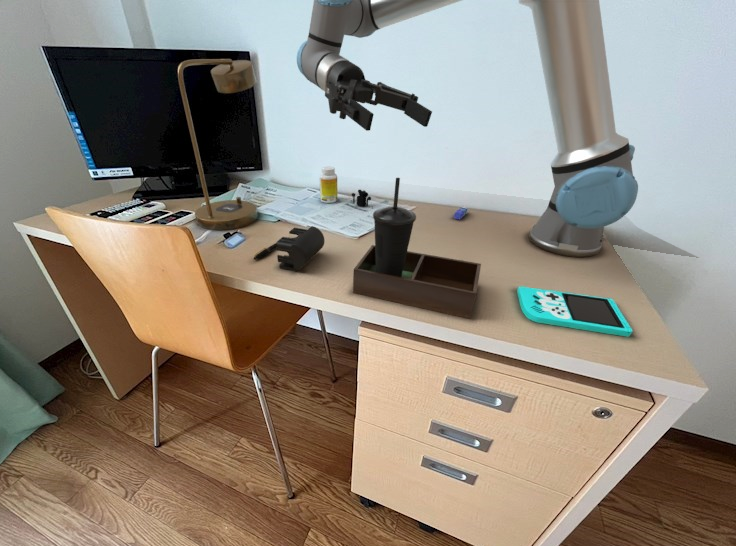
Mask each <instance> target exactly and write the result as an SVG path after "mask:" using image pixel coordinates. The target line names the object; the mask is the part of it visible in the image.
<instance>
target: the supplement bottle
mask: <svg viewBox="0 0 736 546" xmlns="http://www.w3.org/2000/svg"><path fill="white" fill-rule="evenodd" d="M335 169H336V168H335V167H334V166H323V167H322V168H321V174H319V198H320V199H319V200H320V201H321V202H322V203H325V204H326V203H327V204H332V203H335V202H337V201H338V175H337V174H336V170H335Z"/></svg>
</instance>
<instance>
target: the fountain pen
mask: <svg viewBox="0 0 736 546" xmlns="http://www.w3.org/2000/svg"><path fill="white" fill-rule="evenodd" d="M286 237H287V238H291V236H286ZM275 249H276V242H274V243H273V244H272V245H269V247H268V246H267V247H263V248H261V250H259V251H258V252H256V253H255V254H254V255H253V260H254V261H255V260H259V259H262V258H263V257H265V256H267V255H268V254H270V253H271V252H272V251H274V250H275Z"/></svg>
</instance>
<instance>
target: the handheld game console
mask: <svg viewBox="0 0 736 546" xmlns="http://www.w3.org/2000/svg"><path fill="white" fill-rule="evenodd" d="M516 293H517V297H518V301H519V306H520V310H521V312H522V313H523V315H524V316H525V317H526V318H527V319H528V320H530V321H532V322H534V323H538V324H545V325H551V326H557V327H565V328H570V329H577V330H582V331H587V332H595V333H600V334H601V333H602V334H608V335H613V336H614V335H615V336H619V337H620V336H621V337H627V338H629V337H630V336H631V335H632V334H633V329H632V327H631V325H630V324H629V322H628V320H627V319H626V318H625V316H624V314H623V313H622V311H621V309H620V308H619V306H618V305H617V303H616V301H615V300H614V299H612V298H608V297H601V296H594V295H586V294H579V293H571V292H566V291H565V292H564V291H559V290H549V289H542V288H535V287H528V286H521V285H520V286H518V288H517V291H516Z"/></svg>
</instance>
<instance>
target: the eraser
mask: <svg viewBox="0 0 736 546" xmlns="http://www.w3.org/2000/svg"><path fill="white" fill-rule="evenodd" d="M468 210H469V207H467V206H461V207H460V208H458V209H457V210H456V211H455V212H454V216H453V219H455V220H459V221H460V220H461V219H463V217H464V216H465V215H467V213H468Z"/></svg>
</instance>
